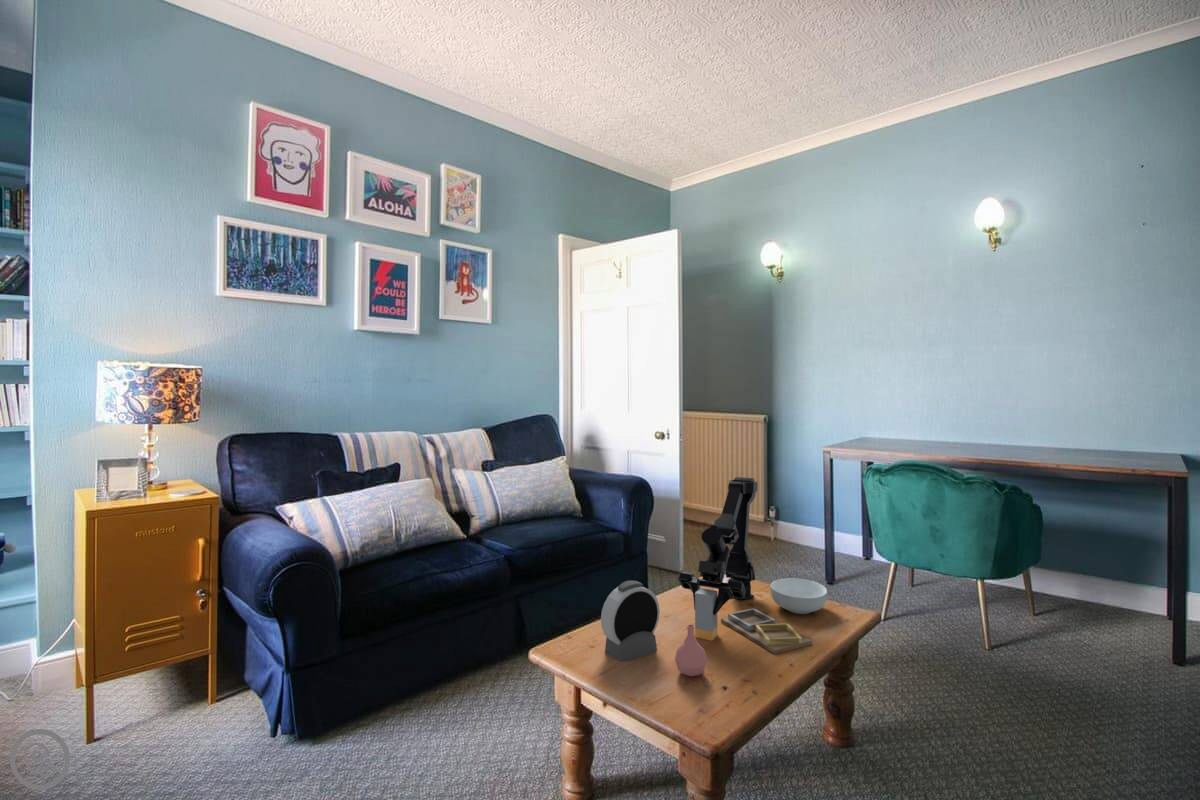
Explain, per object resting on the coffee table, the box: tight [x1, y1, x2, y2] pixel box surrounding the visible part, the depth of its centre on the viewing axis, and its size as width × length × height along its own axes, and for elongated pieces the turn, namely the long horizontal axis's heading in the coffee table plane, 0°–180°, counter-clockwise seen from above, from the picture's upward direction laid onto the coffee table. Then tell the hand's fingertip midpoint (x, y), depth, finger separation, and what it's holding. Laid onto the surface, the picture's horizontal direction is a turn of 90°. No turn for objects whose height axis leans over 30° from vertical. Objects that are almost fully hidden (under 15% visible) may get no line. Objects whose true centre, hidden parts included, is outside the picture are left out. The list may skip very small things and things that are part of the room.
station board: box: [720, 607, 813, 655], centre depth 166 cm, size 23×13×2 cm, turn 25°
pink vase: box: [674, 624, 708, 677], centre depth 143 cm, size 8×8×12 cm
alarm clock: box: [600, 580, 661, 662], centre depth 156 cm, size 16×10×18 cm, turn 123°
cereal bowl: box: [770, 577, 828, 615], centre depth 182 cm, size 17×17×7 cm
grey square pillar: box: [694, 587, 718, 641], centre depth 164 cm, size 4×5×12 cm
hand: (704, 612), depth 163 cm, fingers closed on grey square pillar, 5 cm apart
